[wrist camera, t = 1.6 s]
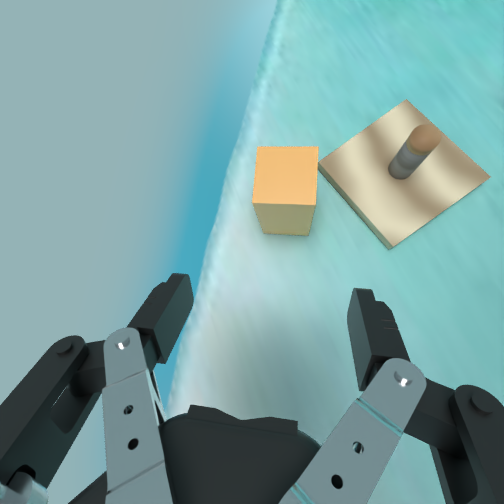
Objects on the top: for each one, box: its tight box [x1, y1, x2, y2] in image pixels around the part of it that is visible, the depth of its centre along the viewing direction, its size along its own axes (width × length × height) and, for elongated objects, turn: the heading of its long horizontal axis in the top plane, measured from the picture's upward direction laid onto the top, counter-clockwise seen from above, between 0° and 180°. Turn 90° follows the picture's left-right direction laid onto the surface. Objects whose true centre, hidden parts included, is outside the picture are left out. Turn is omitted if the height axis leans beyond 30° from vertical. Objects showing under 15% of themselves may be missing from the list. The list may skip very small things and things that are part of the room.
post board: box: [318, 99, 490, 250], centre depth 28 cm, size 13×13×8 cm
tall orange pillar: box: [252, 147, 319, 236], centre depth 28 cm, size 5×5×10 cm
